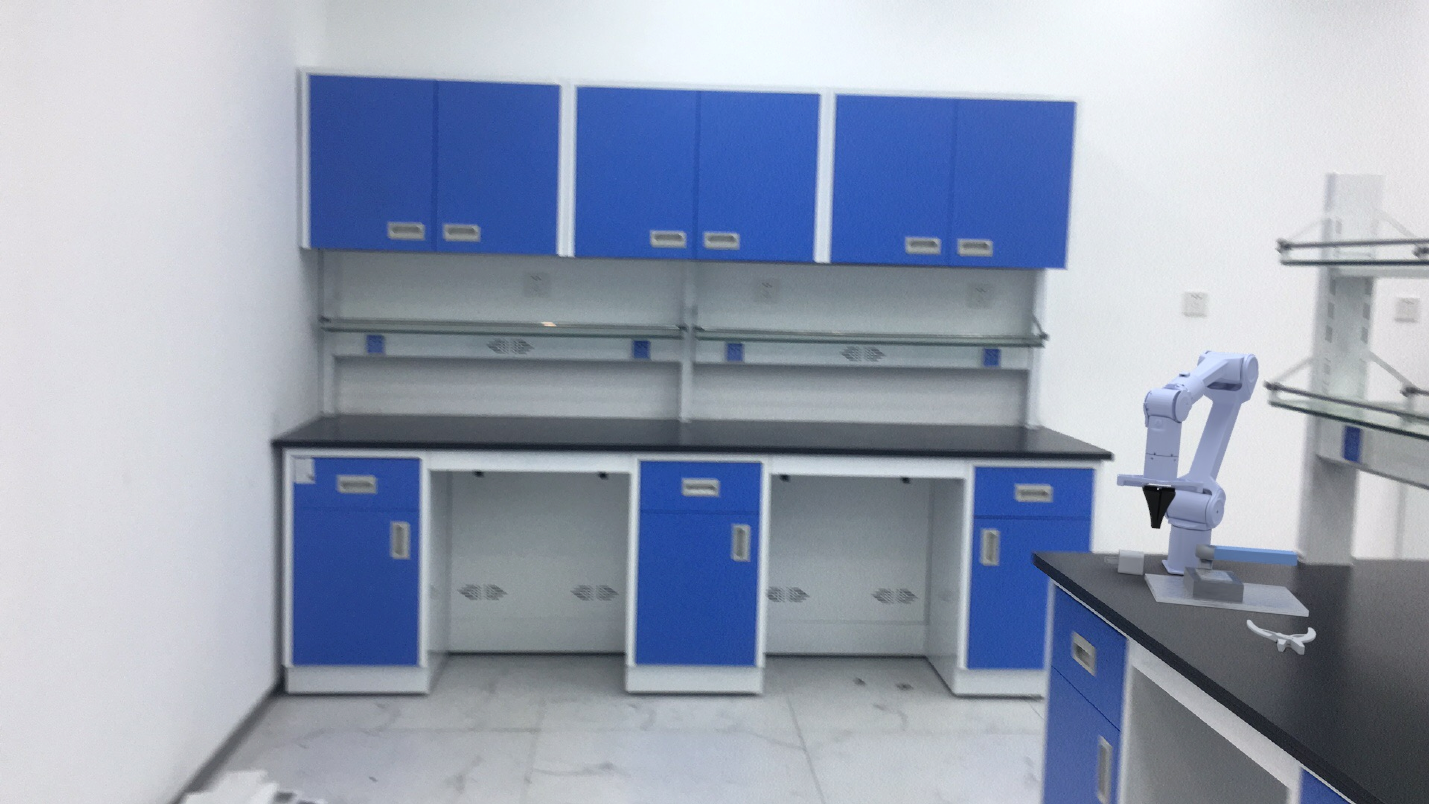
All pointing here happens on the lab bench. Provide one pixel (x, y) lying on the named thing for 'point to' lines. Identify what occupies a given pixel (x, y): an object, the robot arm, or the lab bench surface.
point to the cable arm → (1246, 554)
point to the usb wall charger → (1128, 562)
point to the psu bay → (1249, 597)
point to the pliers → (1285, 638)
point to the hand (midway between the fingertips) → (1155, 527)
